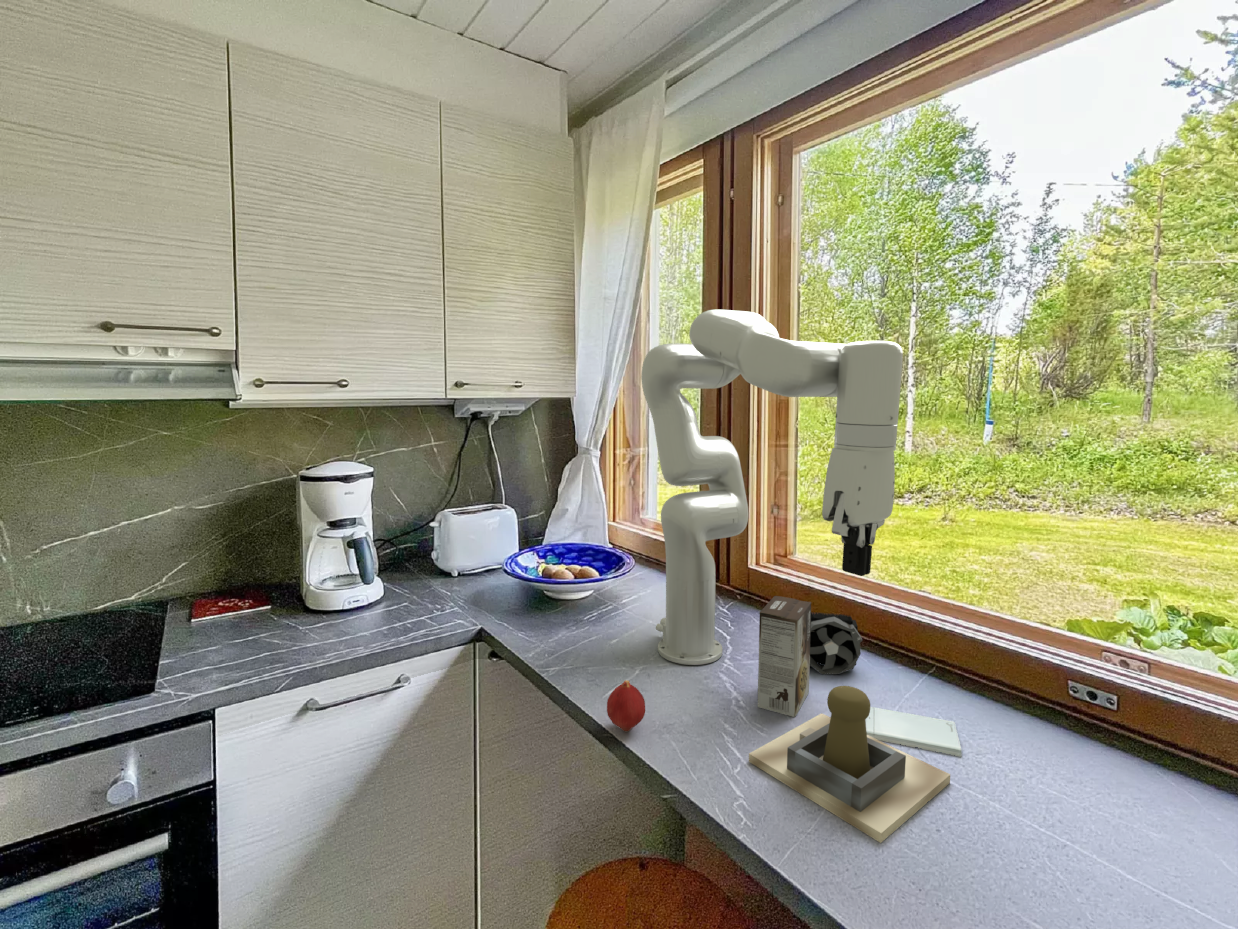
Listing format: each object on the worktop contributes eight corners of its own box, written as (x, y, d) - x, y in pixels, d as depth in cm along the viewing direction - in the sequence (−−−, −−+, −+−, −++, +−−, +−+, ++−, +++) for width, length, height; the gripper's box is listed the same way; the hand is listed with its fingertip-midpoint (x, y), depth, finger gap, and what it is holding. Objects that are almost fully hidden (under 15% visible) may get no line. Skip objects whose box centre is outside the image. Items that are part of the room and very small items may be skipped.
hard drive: (954, 720, 90) (866, 704, 95) (962, 749, 83) (865, 730, 88) (954, 730, 90) (865, 713, 95) (961, 760, 83) (864, 740, 88)
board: (748, 761, 82) (749, 732, 81) (821, 720, 92) (822, 694, 92) (880, 843, 67) (882, 808, 66) (949, 783, 77) (951, 752, 77)
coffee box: (772, 684, 104) (774, 594, 102) (809, 693, 101) (813, 601, 99) (755, 707, 96) (757, 611, 94) (795, 718, 93) (799, 618, 91)
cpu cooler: (800, 672, 108) (802, 619, 107) (798, 659, 114) (800, 608, 112) (861, 679, 106) (863, 624, 105) (856, 665, 111) (858, 612, 110)
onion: (601, 724, 92) (601, 674, 91) (636, 717, 94) (636, 668, 93) (614, 744, 86) (614, 692, 85) (651, 736, 88) (651, 685, 87)
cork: (867, 760, 80) (871, 683, 79) (873, 789, 74) (877, 705, 73) (820, 753, 82) (823, 677, 80) (822, 781, 76) (825, 699, 75)
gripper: (869, 432, 85) (861, 556, 88) (805, 437, 77) (798, 575, 79) (922, 437, 80) (911, 569, 82) (859, 443, 71) (849, 591, 73)
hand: (855, 572), depth 81 cm, fingers closed
